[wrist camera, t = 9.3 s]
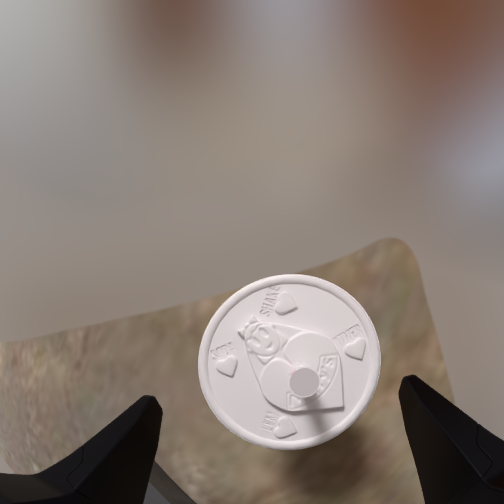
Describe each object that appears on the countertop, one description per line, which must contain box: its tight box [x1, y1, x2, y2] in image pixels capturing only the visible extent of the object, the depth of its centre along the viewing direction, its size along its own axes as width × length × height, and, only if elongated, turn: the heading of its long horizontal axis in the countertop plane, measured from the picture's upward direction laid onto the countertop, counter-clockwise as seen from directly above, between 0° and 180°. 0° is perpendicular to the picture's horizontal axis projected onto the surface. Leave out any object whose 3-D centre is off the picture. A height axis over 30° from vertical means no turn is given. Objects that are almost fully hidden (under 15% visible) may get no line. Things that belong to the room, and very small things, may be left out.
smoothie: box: [198, 274, 381, 450], centre depth 11 cm, size 6×6×14 cm
